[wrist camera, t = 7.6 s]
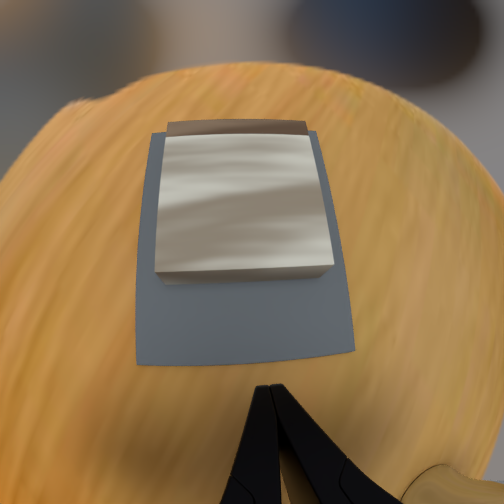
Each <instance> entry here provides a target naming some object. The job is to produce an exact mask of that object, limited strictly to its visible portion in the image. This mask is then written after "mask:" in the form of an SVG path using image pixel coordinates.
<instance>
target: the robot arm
mask: <svg viewBox="0 0 504 504" xmlns="http://www.w3.org/2000/svg"><path fill="white" fill-rule="evenodd" d="M280 469H281V473H282V476H283V479H284V483H285V486H286V489H287V493H288V496H289V499H290V503H291V504H403V503H402V502H400V501H399V500H398V499H396V498H395V497H393V496H392V495H391V494H389V493H388V492H387V491H385V490H384V489H382V488H381V487H380V486H378V485H377V484H376V483H375V482H373V481H372V480H371V479H370V478H369V477H367V476H366V475H365V474H364V473H363V472H362V471H361V470H360V469H359V468H358V467H357V466H356V465H355V464H354V463H353V462H352V461H351V460H350V459H349V458H347V456H346V455H345V454H344V453H343V452H342V451H341V450H340V448H339V447H338V446H337V445H336V444H335V443H334V442H333V441H332V440H331V439H330V438H329V437H328V435H327V434H326V433H325V432H324V431H323V430H322V429H321V428H320V427H319V425H318V424H317V423H316V422H315V421H314V420H313V419H312V418H311V416H310V415H309V414H308V413H307V412H306V411H305V410H304V408H303V407H302V406H301V405H300V404H299V403H298V401H297V400H296V399H295V398H294V397H293V396H292V394H291V393H290V392H289V391H288V390H287V389H286V387H285V386H284V385H283V384H272V385H270V386H268V385H261V386H256V387H255V391H254V394H253V398H252V401H251V405H250V409H249V412H248V416H247V419H246V423H245V426H244V430H243V433H242V436H241V440H240V443H239V447H238V450H237V453H236V457H235V460H234V463H233V466H232V470H231V473H230V476H229V479H228V482H227V485H226V488H225V491H224V493H223V496H222V499H221V501H220V503H219V504H282V503H281V480H280Z"/></svg>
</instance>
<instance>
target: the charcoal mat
mask: <svg viewBox="0 0 504 504" xmlns="http://www.w3.org/2000/svg"><path fill="white" fill-rule="evenodd" d="M308 134H309V138H310V142H311V146H312V150H313V155H314V159H315V164H316V168H317V173H318V177H319V182H320V187H321V192H322V196H323V202H324V207H325V212H326V217H327V223H328V228H329V234H330V240H331V246H332V252H333V258H334V265H333V266H332V267H331V268H330V269H329V270H328V271H327V272H325V273H324V274H323V275H322V276H321V277H320V278H309V279H292V280H274V281H255V282H233V283H207V284H176V285H165V284H164V282H163V281H162V280H161V279H160V278H159V277H158V276H157V274H156V273H155V247H156V229H157V214H158V202H159V190H160V180H161V171H162V162H163V154H164V146H165V139H166V132H161V133H152V136H151V142H150V148H149V154H148V160H147V167H146V174H145V181H144V189H143V197H142V206H141V216H140V227H139V239H138V253H137V272H136V361H137V365H156V366H203V365H231V364H248V363H262V362H274V361H285V360H294V359H303V358H311V357H319V356H326V355H333V354H340V353H346V352H352V351H355V343H354V333H353V324H352V315H351V307H350V299H349V292H348V285H347V278H346V271H345V265H344V259H343V253H342V247H341V241H340V236H339V230H338V225H337V220H336V215H335V210H334V205H333V200H332V196H331V191H330V186H329V182H328V178H327V173H326V169H325V165H324V161H323V157H322V153H321V149H320V145H319V141H318V137H317V133H316V131H308Z"/></svg>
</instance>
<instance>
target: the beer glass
mask: <svg viewBox="0 0 504 504" xmlns="http://www.w3.org/2000/svg"><path fill="white" fill-rule="evenodd" d="M401 502H402V503H403V504H504V481H489V480H487V481H486V480H477V479H472V478H469V477H467V476H464V475H463V474H461V473H460V472H458V471H457V470H456V469H454V468H453V467H451V466H449V465H437V466H434V467H432V468H430V469H428V470H427V471H425V472H424V473H422V474H421V475H420V476H419V477H418V478H417V479H416V480H415V481H414V482H413V483H412V484H411V485H410V487H409V488H408V489H407V491H406V492H405V494H404V496H403V498H402V500H401Z"/></svg>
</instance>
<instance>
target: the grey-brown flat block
mask: <svg viewBox="0 0 504 504" xmlns="http://www.w3.org/2000/svg"><path fill="white" fill-rule="evenodd" d="M333 265H334V258H333V252H332V246H331V240H330V234H329V228H328V223H327V217H326V212H325V207H324V202H323V196H322V192H321V187H320V182H319V177H318V173H317V168H316V164H315V159H314V155H313V150H312V146H311V142H310V138H309V134H308V130H307V126H306V122H305V121H295V120H272V119H217V120H194V121H179V122H168V125H167V132H166V139H165V146H164V154H163V162H162V171H161V180H160V190H159V202H158V214H157V229H156V247H155V273H156V274H157V276H158V277H159V278H160V279H161V280H162V281H163V282H164V284H165V285H176V284H207V283H233V282H255V281H274V280H292V279H309V278H320V277H321V276H322V275H323V274H324V273H325V272H327V271H328V270H329V269H330V268H331V267H332V266H333Z"/></svg>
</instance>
